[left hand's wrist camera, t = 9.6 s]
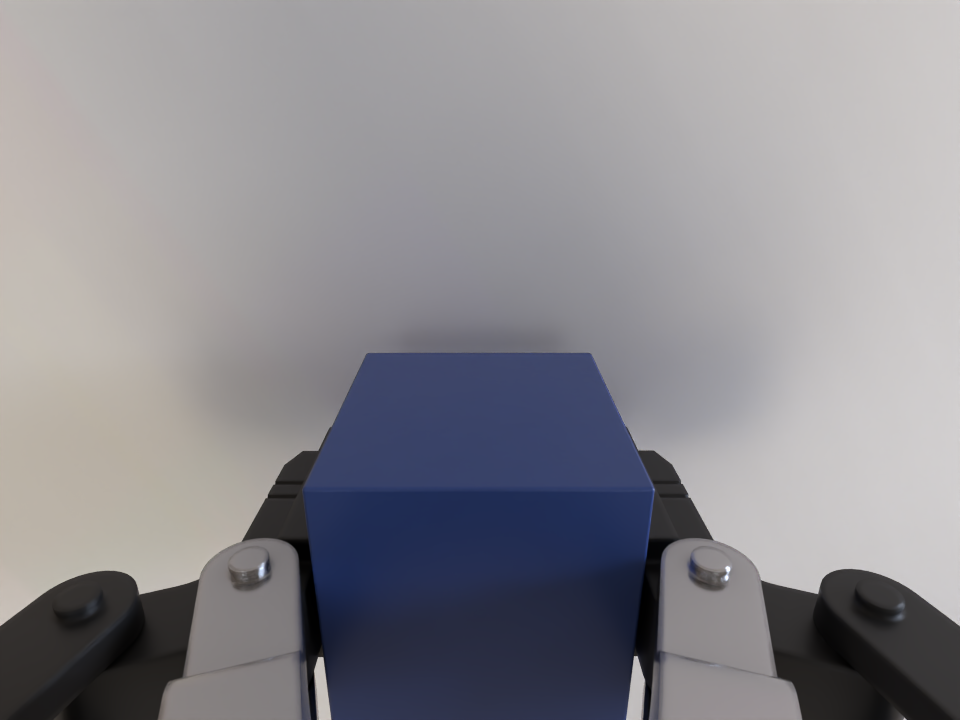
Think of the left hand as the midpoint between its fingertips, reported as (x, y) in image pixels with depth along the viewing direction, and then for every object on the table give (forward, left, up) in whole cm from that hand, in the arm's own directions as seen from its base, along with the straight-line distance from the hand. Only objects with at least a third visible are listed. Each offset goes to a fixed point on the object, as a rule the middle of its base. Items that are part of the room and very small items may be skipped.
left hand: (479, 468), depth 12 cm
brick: (0, 0, 0) cm, 0 cm away
